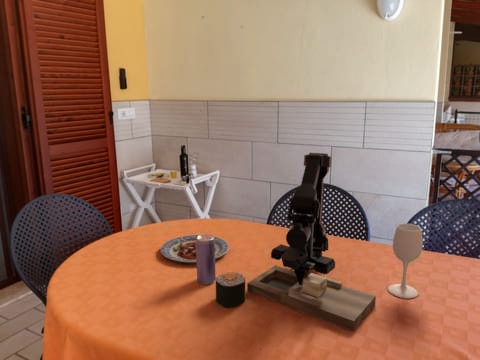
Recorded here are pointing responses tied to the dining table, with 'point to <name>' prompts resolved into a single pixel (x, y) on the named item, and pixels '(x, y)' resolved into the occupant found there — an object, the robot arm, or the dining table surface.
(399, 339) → the dining table surface
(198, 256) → the beverage can
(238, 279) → the sushi
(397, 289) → the wineglass
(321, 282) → the block
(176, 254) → the ceramic plate
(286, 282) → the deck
